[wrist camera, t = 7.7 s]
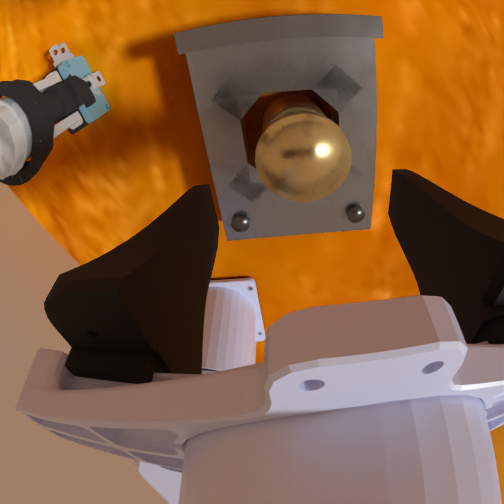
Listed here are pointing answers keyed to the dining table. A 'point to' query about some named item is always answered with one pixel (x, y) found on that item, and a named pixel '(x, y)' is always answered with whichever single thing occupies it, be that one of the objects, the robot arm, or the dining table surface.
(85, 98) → the push button
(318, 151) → the brass door knob
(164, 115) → the dining table surface
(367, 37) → the jig
